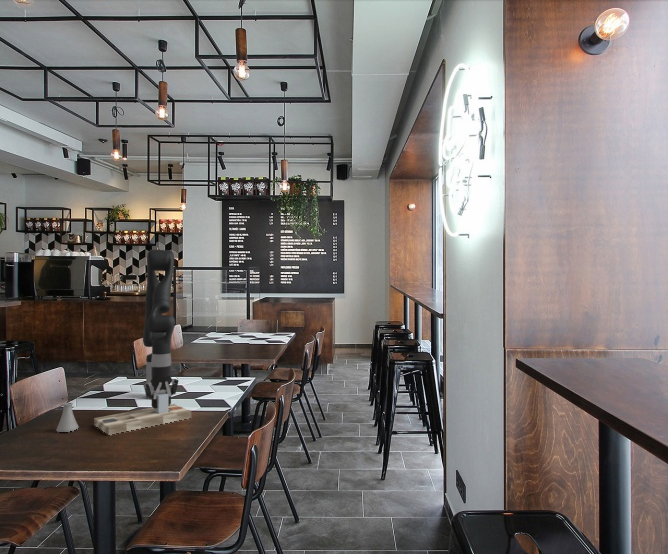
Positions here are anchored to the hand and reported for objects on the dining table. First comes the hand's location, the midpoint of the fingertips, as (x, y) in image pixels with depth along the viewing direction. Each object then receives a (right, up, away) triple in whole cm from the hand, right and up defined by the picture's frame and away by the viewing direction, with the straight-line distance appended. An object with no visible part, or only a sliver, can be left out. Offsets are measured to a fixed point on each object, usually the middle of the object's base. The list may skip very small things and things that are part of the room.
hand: (161, 406), depth 199 cm
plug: (0, -5, 0) cm, 5 cm away
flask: (-30, -5, -15) cm, 34 cm away
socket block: (-5, -5, -5) cm, 9 cm away
